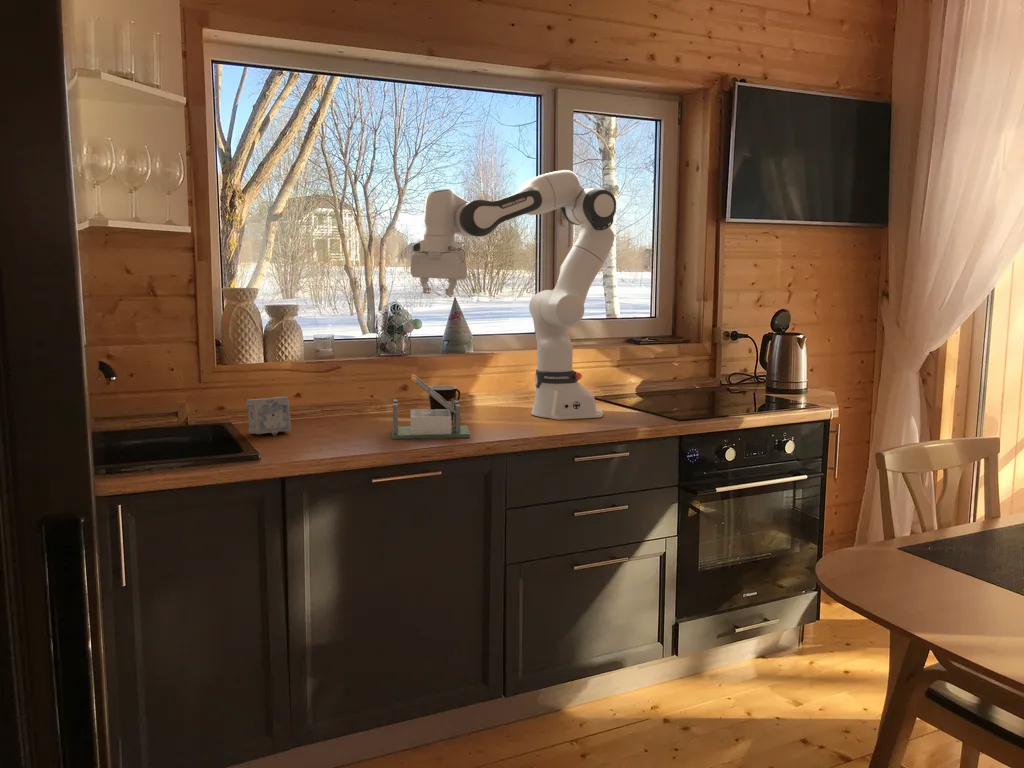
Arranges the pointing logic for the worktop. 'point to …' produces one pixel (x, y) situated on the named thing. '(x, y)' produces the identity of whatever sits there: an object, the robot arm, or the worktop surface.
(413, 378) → the strap
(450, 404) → the silver flat bar
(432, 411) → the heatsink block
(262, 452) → the worktop surface
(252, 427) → the incense holder
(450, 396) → the coffee mug
